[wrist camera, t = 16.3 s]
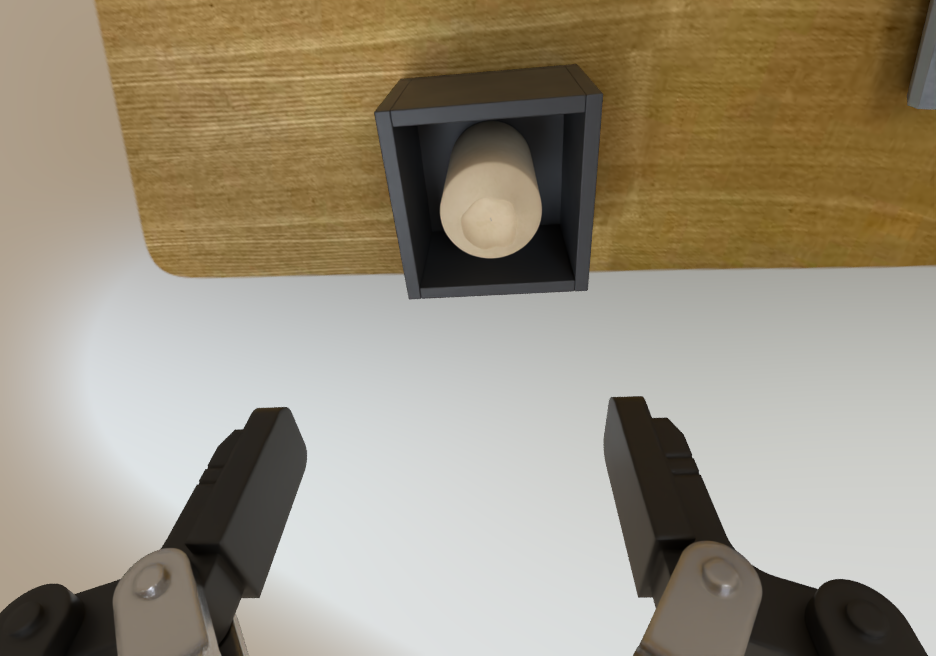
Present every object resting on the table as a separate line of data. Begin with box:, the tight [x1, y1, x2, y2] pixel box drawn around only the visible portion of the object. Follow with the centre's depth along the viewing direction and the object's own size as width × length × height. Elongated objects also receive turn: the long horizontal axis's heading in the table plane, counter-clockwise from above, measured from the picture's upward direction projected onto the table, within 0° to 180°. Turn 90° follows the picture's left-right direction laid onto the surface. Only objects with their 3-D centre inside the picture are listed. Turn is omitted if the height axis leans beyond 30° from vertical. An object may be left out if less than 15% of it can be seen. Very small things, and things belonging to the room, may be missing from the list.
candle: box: [440, 121, 542, 258], centre depth 29 cm, size 6×6×10 cm
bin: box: [374, 64, 603, 299], centre depth 30 cm, size 11×11×9 cm
